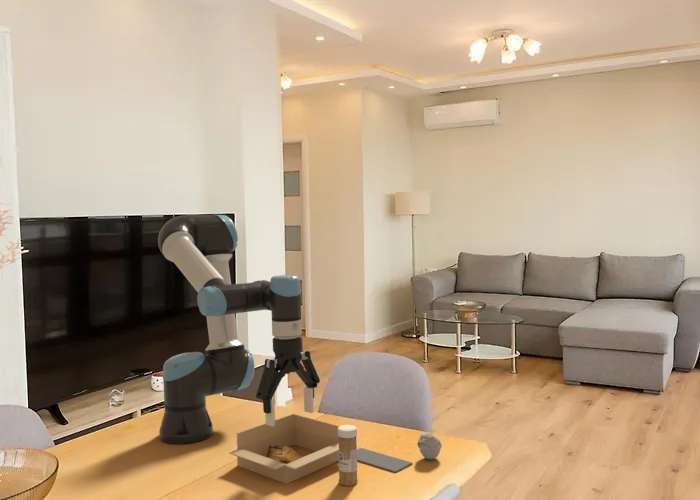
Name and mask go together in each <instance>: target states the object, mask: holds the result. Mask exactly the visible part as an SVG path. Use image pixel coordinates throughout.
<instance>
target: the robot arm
mask: <svg viewBox="0 0 700 500" xmlns="http://www.w3.org/2000/svg"><path fill="white" fill-rule="evenodd" d="M158 233H159V234H158V237H157V244H158V248H159V250H160V253H161V254H162V255H163V256H164V258H165V259H166V260H167V261H170V262H172V263H174V264H175V266H176V267H177V269H179V271H180V272H181V274H183V276H184V277H185V278H186V279H187V281H188V283H190V284H191V286H192V287H193V288H194V290H195V291H196V292H197V296H196V297H197V298H196V299H197V302H196V303H197V306H198V309H199V312H200V314H201V315H202V316H204V317H206V324H207V331H208V341H209V344H208V345H207V347H206V348H205V354H204V353H202V352H200V351H191V352H183V353H179V354H176V355H173V356H171V357H169V358H168V359H167V360H166V361H165V362H164V363H163V366H162V369H163V370H162V374H163V375H162V381H163V401H164V405H163V406H164V413H163V416H162V419H161V422H160V427H159V430H158V433H159V435H158V436H159V440H160V441H161V442H163V443H167V444H173V445H182V444H183V445H185V444H192V443H197V442H201V441H204V440H207V439H208V438H210V437H211V436H212V435H213V433H214V428H213V423H212V420H211V417H210V415H209V412H208V409H207V405H206V404H207V403H206V402H207V401H206V400H207V399H206V397H208V396H213V395H219V394H224V393H230V392H237V391H239V390H243V389H246V388H247V387H249V386H250V384H251V383H252V380H253V379H254V375H255V359H254V356H253V353H252V352H251V350H249V349H245V343H243V342H242V341H241V340H240V338H239V335H238V334H239V333H238V327H237V319H236V314H239V313H251V312H259V311H270V312H271V334H272V336H273V338H272V351H273V354H274V358H273V359H269V358H266V359H265V360H264V368H263V373H262V375H261V378H260V381H259V385H258V388H257V391H256V395H255V398H256V399H258V400H262V406H263V407H262V409H263V410H262V411H263V413H265V423H266V425H269V426H272V427H274V426H275V420H276V413H275V412H276V410H275V409H276V408H275V407H276V406H275V399H273V397H274V395H275V393H276V391H277V389H278V387H279V386H280V383H281V381H282V379H283V378H284V377H285V376H286V375H289V374H292V373H296V374H297V377H298V378H300V380H301V381H302V382H303V384H304V385H305V386H303V407H304V409H303V411H304V412H306V413H310V414H313V413H315V410H314V399H315V388H318V384H320V382H321V379H320V377H319V375H318V373H317V371H316V368H315V365H314V363H313V361H312V359H311V352H310V351H309V350H304V349H303V337H302V336H301V335H302V333H303V331H302V300H301V299H302V297H301V296H302V294H301V293H302V289H301V282H300V278H299V276H297V275H294V274H293V275H292V274H290V275H289V274H285V275H284V274H283V275H281V274H280V275H274V276H271V278H270V281H269V280H265V279H261V280H254V281H253V282H244V283H232V281H231V280H232V279H231V274H230V273H231V272H230V266H229V262H230V260H231V259H232V258H233V252H234V251H235V250H236V249H237V248H238V239H239V237H238V231H237V229H236V225H235V223H234V221H233V220H232V219H231V218H230V217H229V216H227V215H225V214H215V213H214V214H213V213H212V214H197V215H195V214H194V215H185V214H184V215H178V216H175V217H173V218H170V219H169V220H168V221H166V222H165V224H163V226H161V229H160V231H159V232H158Z"/></svg>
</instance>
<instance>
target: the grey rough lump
mask: <svg viewBox="0 0 700 500" xmlns="http://www.w3.org/2000/svg"><path fill="white" fill-rule="evenodd" d="M416 444H417V447H418V449H419V452H420V454H421V455H422V457H423V458H424V459H427V460H429V461H430V460H431V461H432V460H434V459H437V457H438V456H439V454H440V452H441V449H442V443H441V440H440V439H439V437H438V436H436V435H434V434H433V433H432V432H430V433H429V432H425V433H421V434H420V437H419V439H418V440H417V443H416Z"/></svg>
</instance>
